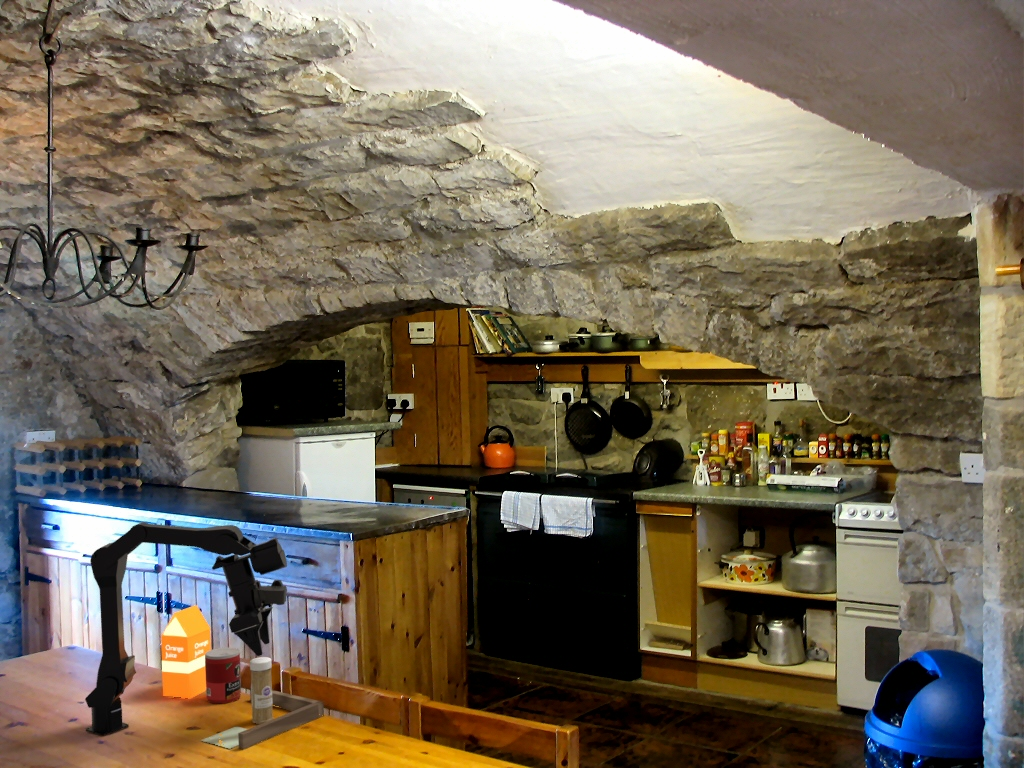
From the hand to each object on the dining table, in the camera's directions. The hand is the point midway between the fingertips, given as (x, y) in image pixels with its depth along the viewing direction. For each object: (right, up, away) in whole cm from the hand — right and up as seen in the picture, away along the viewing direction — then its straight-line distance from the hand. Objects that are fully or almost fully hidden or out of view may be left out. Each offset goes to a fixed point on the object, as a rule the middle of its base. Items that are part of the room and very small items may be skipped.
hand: (263, 649), depth 208 cm
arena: (-3, -15, -2) cm, 16 cm away
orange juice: (-24, -16, +21) cm, 36 cm away
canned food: (-13, -16, +15) cm, 26 cm away
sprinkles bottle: (0, -15, -1) cm, 16 cm away
